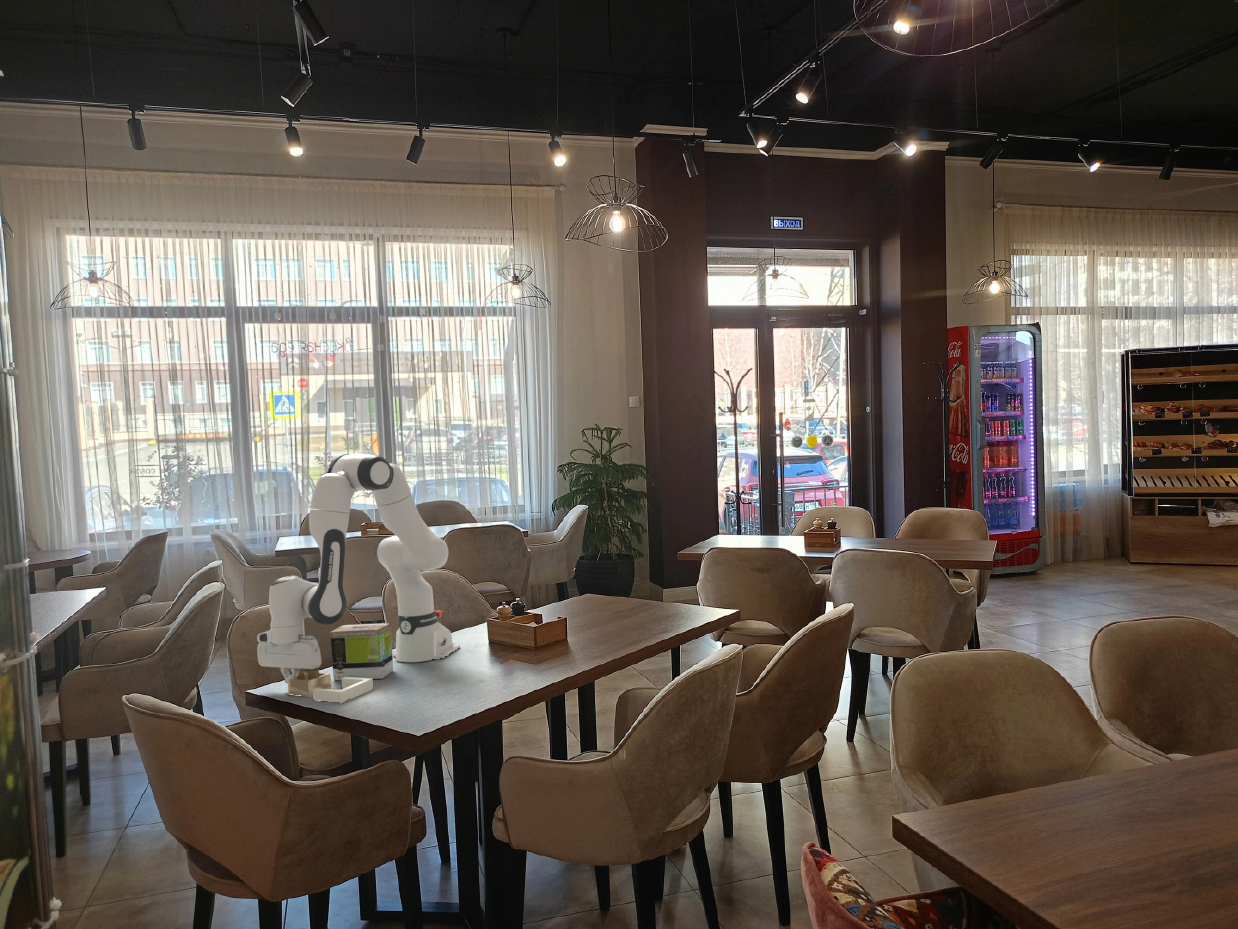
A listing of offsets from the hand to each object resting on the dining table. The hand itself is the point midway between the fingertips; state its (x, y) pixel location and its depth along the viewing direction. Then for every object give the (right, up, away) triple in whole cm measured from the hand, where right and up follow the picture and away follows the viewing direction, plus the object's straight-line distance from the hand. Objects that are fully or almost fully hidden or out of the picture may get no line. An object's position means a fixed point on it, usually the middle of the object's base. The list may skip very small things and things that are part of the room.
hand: (291, 682), depth 244 cm
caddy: (+6, -2, -3) cm, 7 cm away
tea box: (+17, -1, +12) cm, 21 cm away
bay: (+16, -2, -7) cm, 18 cm away
